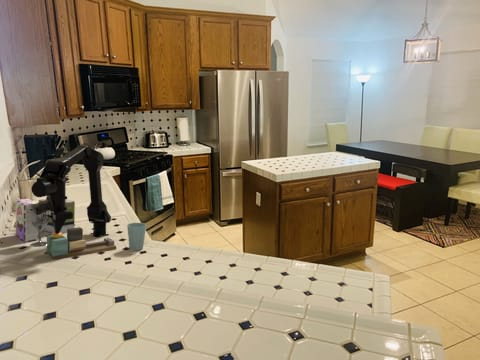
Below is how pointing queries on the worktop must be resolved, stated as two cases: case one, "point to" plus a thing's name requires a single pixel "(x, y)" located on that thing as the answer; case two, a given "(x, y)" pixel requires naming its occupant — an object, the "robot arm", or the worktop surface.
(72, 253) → the rail
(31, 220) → the wine glass
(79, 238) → the carriage
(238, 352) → the worktop surface
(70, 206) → the tea box
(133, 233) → the cup
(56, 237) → the button
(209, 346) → the worktop surface
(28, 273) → the worktop surface
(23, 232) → the candy box
